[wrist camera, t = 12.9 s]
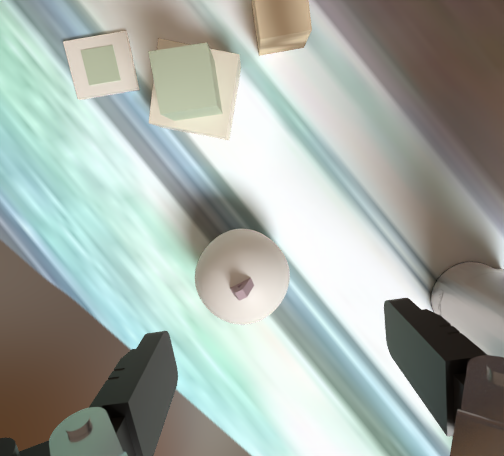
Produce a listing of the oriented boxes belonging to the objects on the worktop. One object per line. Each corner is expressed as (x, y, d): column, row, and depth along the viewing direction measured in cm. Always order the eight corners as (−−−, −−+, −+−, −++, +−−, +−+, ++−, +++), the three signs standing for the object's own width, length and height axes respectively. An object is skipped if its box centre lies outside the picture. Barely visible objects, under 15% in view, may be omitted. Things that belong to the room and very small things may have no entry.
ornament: (239, 204, 39) (233, 225, 27) (300, 257, 40) (319, 297, 29) (187, 264, 41) (161, 307, 29) (247, 312, 42) (245, 372, 30)
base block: (241, 68, 36) (239, 54, 31) (229, 140, 38) (225, 137, 33) (171, 54, 36) (158, 38, 31) (162, 127, 37) (148, 122, 32)
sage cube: (214, 60, 31) (207, 42, 26) (222, 113, 32) (217, 105, 27) (164, 68, 31) (148, 51, 26) (174, 121, 32) (160, 114, 27)
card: (127, 32, 35) (125, 30, 34) (139, 89, 36) (137, 88, 35) (65, 43, 35) (62, 41, 34) (80, 100, 36) (77, 99, 36)
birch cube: (297, -3, 34) (305, -30, 29) (303, 47, 35) (311, 29, 30) (252, 6, 34) (251, -20, 29) (259, 55, 35) (260, 39, 30)
